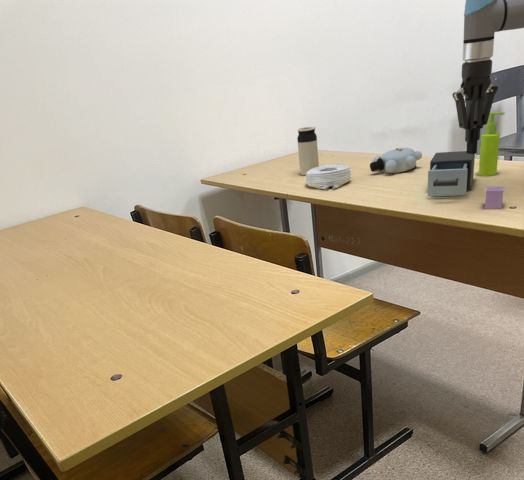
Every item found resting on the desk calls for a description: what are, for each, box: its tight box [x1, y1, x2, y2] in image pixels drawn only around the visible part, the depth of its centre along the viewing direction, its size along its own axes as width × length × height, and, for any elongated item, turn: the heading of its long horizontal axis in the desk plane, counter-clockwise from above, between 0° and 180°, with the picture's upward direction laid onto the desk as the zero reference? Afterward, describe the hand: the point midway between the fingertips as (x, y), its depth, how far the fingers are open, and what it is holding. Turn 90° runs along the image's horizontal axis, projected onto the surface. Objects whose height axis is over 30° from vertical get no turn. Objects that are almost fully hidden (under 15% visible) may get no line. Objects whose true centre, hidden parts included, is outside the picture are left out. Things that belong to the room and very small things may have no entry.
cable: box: [304, 164, 352, 191], centre depth 202 cm, size 18×18×6 cm
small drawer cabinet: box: [429, 150, 476, 192], centre depth 176 cm, size 15×13×10 cm
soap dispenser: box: [478, 111, 506, 177], centre depth 181 cm, size 6×7×20 cm
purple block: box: [484, 186, 505, 210], centre depth 152 cm, size 4×4×5 cm
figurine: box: [369, 147, 423, 174], centre depth 208 cm, size 17×8×20 cm
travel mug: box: [296, 126, 320, 176], centre depth 221 cm, size 8×8×18 cm
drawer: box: [427, 162, 468, 197], centre depth 167 cm, size 18×11×8 cm, turn 158°
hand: (471, 153), depth 152 cm, fingers closed
